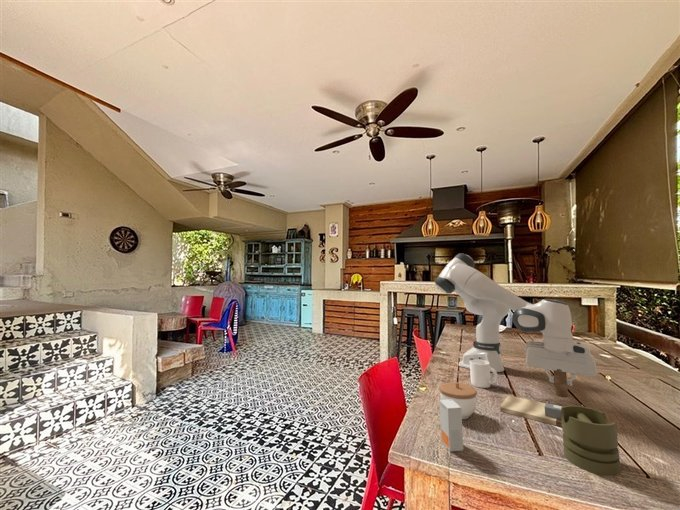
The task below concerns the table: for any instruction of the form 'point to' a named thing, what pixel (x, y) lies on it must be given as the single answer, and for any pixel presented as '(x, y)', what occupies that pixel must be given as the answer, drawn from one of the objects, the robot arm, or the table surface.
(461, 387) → the lidded bowl
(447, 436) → the skincare box
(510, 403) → the plank
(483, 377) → the mug
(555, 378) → the peg
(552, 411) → the block
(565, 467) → the table surface
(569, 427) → the piston
